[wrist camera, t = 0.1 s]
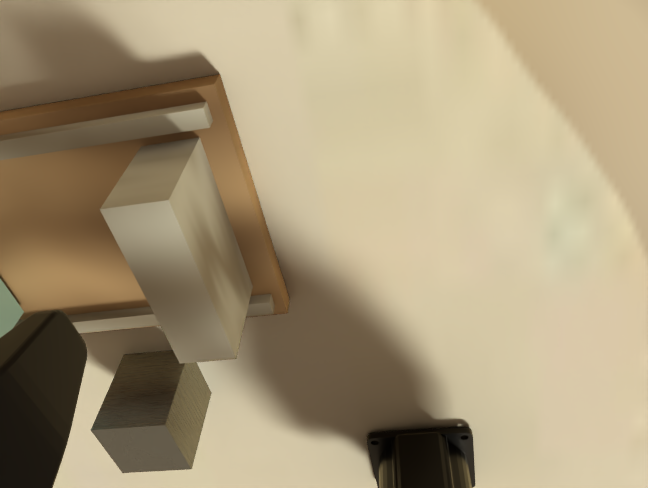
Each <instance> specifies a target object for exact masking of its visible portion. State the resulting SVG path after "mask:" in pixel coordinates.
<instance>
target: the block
mask: <svg viewBox="0 0 648 488" xmlns="http://www.w3.org/2000/svg"><path fill="white" fill-rule="evenodd" d="M210 396H211V391H210V389H209V387H208V385H207V383H206V381H205V379H204V377H203V375H202V373H201V371H200V369H199V367H198V365H197V363H196V362H193V363H181V364H180V363H179V361H178V359H177V357H176V355H175V353H174V351H173V350H170V351H159V352H148V353H137V354H127V355H124V356H123V358H122V360H121V363H120V365H119V367H118V369H117V372H116V374H115V376H114V379H113V381H112V383H111V385H110V388H109V390H108V392H107V395H106V397H105V399H104V401H103V404H102V406H101V408H100V411H99V413H98V415H97V417H96V420H95V422H94V424H93V427H92V429H91V431H92V432H93V434H94V435H95V436H96V438H97V439H98V440H99V442H100V443H101V444H102V446H103V447H104V448H105V450H106V451H107V452H108V454H109V455H110V457H111V458H112V459H113V461H114V462H115V463H116V465H117V466H118V467H119V469H120V470H121V471H122V473H129V472H148V471H166V470H184V469H192V466H193V462H194V458H195V454H196V450H197V446H198V442H199V439H200V435H201V431H202V427H203V423H204V419H205V416H206V412H207V408H208V404H209V400H210Z"/></svg>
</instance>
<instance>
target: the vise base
mask: <svg viewBox="0 0 648 488" xmlns="http://www.w3.org/2000/svg"><path fill="white" fill-rule="evenodd" d="M0 279H1V280H2V281H3V283H4V284H5V286H6V287H7V288H8V290H9V291H10V293H11V294H12V296H13V297H14V298H15V300H16V301H17V303H18V304H19V305H20V307H21V308H22V310H23V311H24V313H23V314H22V316H21V317H20V319H19V320H18V322H17V323H16V325H15V326H14V327H16V326H17V325H18V324H20V323H21V322H22V321H24V320H25V319H26V318H28V317H29V316H31V315H32V314H34V313H36V312H39V311H47V310H61V311H63V312H64V313H66V314H67V316H68V317H69V319H70V320H71V322H72V323H73V325H74V326H75V328H76V329H77V331H78V332H79V334H82V333H93V332H103V331H113V330H123V329H133V328H143V327H153V326H161V328H162V330H163V332H164V334H165V336H166V338H167V340H168V342H169V344H170V346H171V347H172V349H173V351H174V353H175V355H176V357H177V359H178V361H179V363H180V364H181V363H193V362H204V361H216V360H227V359H236V358H237V353H238V349H239V344H240V340H241V336H242V331H243V327H244V323H245V318H246V317H254V316H265V315H275V314H285V313H288V306H289V300H290V299H289V296H288V293H287V289H286V286H285V283H284V280H283V277H282V273H281V270H280V267H279V264H278V260H277V257H276V254H275V251H274V248H273V244H272V241H271V238H270V235H269V231H268V228H267V225H266V222H265V218H264V215H263V212H262V209H261V206H260V202H259V199H258V196H257V193H256V189H255V186H254V183H253V180H252V176H251V173H250V170H249V167H248V164H247V160H246V157H245V154H244V151H243V147H242V144H241V141H240V138H239V135H238V131H237V128H236V125H235V122H234V118H233V115H232V112H231V109H230V105H229V102H228V99H227V96H226V93H225V89H224V86H223V83H222V80H221V76H220V74H218V75H212V76H206V77H201V78H195V79H189V80H183V81H177V82H171V83H166V84H160V85H154V86H148V87H142V88H136V89H131V90H125V91H119V92H113V93H107V94H101V95H96V96H90V97H84V98H78V99H72V100H66V101H61V102H55V103H49V104H43V105H37V106H31V107H26V108H20V109H14V110H8V111H2V112H0Z"/></svg>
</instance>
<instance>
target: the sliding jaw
mask: <svg viewBox="0 0 648 488" xmlns="http://www.w3.org/2000/svg"><path fill="white" fill-rule="evenodd" d="M23 313H24V311H23V310H22V308H21V307H20V305H19V304H18V303H17V301H16V300H15V298H14V297H13V296H12V294H11V293H10V291H9V290H8V288H7V287H6V286H5V284H4V283H3V281H2V280H1V279H0V338H1V337H2V336H3V335H5V334H6V333H7V332H9V331H10V330H12V329H13V328H14V326H15V325H16V323H17V322H18V320H19V319H20V317H21V316H22V314H23Z"/></svg>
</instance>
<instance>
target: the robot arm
mask: <svg viewBox="0 0 648 488" xmlns="http://www.w3.org/2000/svg"><path fill="white" fill-rule="evenodd" d="M86 360H87V347H86V344H85V342H84V340H83V339H82V337H81V336H80V334H79V332H78V331H77V329H76V328H75V326H74V325H73V323H72V322H71V320H70V319H69V317H68V316H67V314H66V313H64V312H63V311H61V310H47V311H39V312H36V313H34V314H32V315H31V316H29V317H28V318H26V319H25V320H24V321H22V322H21V323H20V324H18V325H17V326H16V327H14V328H13V329H12V330H10V331H9V332H7V333H6V334H5V335H3V336H2V337H1V338H0V488H53V485H54V482H55V479H56V476H57V473H58V470H59V467H60V464H61V461H62V458H63V455H64V452H65V448H66V445H67V442H68V438H69V434H70V430H71V426H72V421H73V417H74V413H75V408H76V404H77V399H78V395H79V391H80V386H81V382H82V377H83V373H84V369H85V364H86ZM367 445H368V449H369V453H370V457H371V461H372V465H373V469H374V474H375V478H376V482H377V486H378V488H473V487H474V486H475V471H474V451H473V435H472V431H471V429H470V428H467V427H456V428H440V429H424V430H408V431H392V432H376V433H370V434H368V436H367Z"/></svg>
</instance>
